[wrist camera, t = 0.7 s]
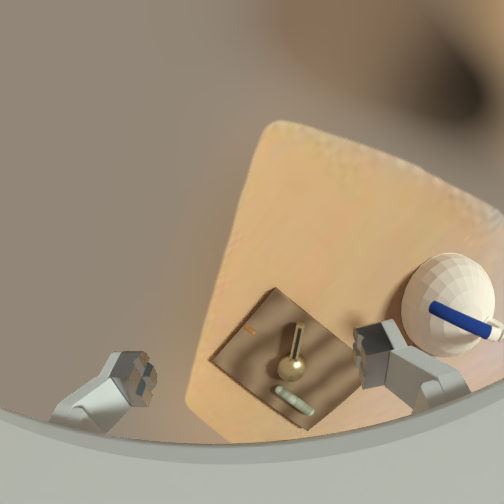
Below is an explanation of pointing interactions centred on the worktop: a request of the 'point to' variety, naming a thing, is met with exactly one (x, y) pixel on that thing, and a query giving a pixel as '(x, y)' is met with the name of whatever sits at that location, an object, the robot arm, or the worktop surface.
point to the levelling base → (279, 343)
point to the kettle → (449, 306)
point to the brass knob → (293, 358)
